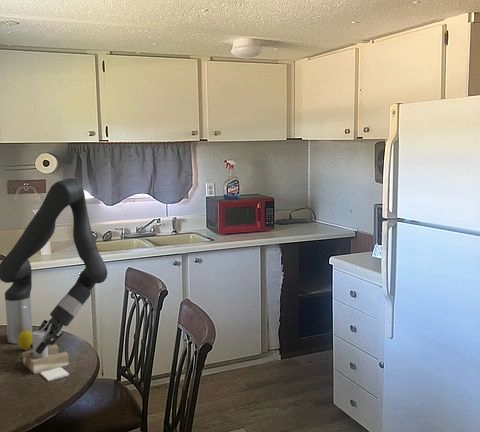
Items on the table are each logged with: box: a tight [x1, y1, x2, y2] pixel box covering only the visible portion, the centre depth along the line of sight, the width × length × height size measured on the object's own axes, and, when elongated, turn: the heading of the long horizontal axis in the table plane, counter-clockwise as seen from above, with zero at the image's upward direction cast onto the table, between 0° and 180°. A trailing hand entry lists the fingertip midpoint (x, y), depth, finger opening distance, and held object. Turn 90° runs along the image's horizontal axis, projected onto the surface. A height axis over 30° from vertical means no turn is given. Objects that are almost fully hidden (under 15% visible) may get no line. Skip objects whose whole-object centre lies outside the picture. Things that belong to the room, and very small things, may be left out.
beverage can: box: [32, 329, 48, 359], centre depth 190 cm, size 5×5×12 cm
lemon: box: [17, 330, 32, 351], centre depth 204 cm, size 6×6×8 cm
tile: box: [40, 367, 70, 382], centre depth 183 cm, size 7×7×1 cm
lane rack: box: [21, 343, 70, 375], centre depth 192 cm, size 12×12×4 cm
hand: (34, 350), depth 189 cm, fingers closed on beverage can, 4 cm apart
